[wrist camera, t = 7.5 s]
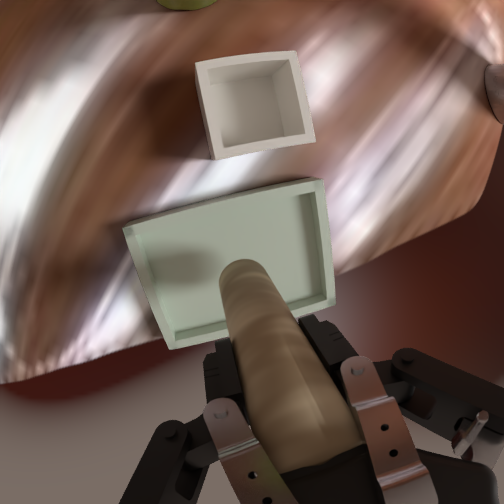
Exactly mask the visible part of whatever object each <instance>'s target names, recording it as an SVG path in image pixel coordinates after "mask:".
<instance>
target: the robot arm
mask: <svg viewBox="0 0 504 504" xmlns="http://www.w3.org/2000/svg"><path fill="white" fill-rule="evenodd" d="M485 85H486V91H487V95H488V99H489V102H490V105H491V107H492V110H493V112H494V114H495V116H496V117H497V119H498V120H499V121H500V122H501V123H502V124H504V64H496V65H489V66H487V68H486V71H485ZM298 323H299V326H300V328H301V329H302V331H303V332H304V334H305V336H306V337H307V339H308V341H309V342H310V344H311V346H312V347H313V349H314V351H315V352H316V354H317V356H318V357H319V359H320V360H321V362H322V364H323V365H324V367H325V369H326V370H327V372H328V374H329V375H330V377H331V379H332V380H333V382H334V383H335V385H336V387H337V388H338V390H339V392H340V393H341V395H342V397H343V398H344V400H345V402H346V403H347V405H348V407H349V408H350V411H351V413H352V416H353V418H354V421H355V423H356V426H357V428H358V431H359V434H360V437H361V439H362V443H363V444H361V445H359V446H357V447H355V448H352V449H350V450H348V451H345V452H343V453H340V454H338V455H337V456H335V457H334V458H332V459H330V460H329V461H327V462H326V463H324V464H322V465H316V466H308V467H302V468H299V469H295V470H292V471H289V472H285V473H282V474H279V473H278V472H277V470H276V469H275V467H274V465H273V464H272V462H271V461H270V459H269V457H268V456H267V454H266V452H265V451H264V449H263V447H262V446H261V444H260V443H259V441H258V440H257V439H256V438H255V436H254V434H253V433H252V431H251V429H250V428H249V425H250V423H249V419H248V415H247V411H246V407H245V398H244V394H243V390H242V386H241V382H240V378H239V374H238V369H237V365H236V361H235V356H234V352H233V348H232V343H231V340H230V338H227V339H223V340H219V341H215V348H216V352H215V353H210V354H207V355H206V357H205V359H204V361H203V368H204V378H205V390H206V399H207V405H206V406H205V408H204V410H203V413H202V415H200V416H199V417H198V418H196V419H194V420H192V421H190V422H188V423H186V424H183V423H182V422H180V421H177V420H169V421H166V422H163V423H162V424H160V425H159V426H158V427H157V428H156V430H155V432H154V434H153V436H152V438H151V440H150V442H149V444H148V446H147V448H146V450H145V452H144V454H143V456H142V458H141V460H140V462H139V464H138V466H137V468H136V470H135V472H134V474H133V476H132V478H131V480H130V482H129V484H128V486H127V488H126V490H125V492H124V494H123V496H122V498H121V500H120V502H119V504H196V503H197V500H198V497H199V494H200V492H201V489H202V486H203V483H204V480H205V477H206V474H207V471H208V468H209V465H210V464H212V463H214V462H215V461H218V460H220V462H221V464H222V466H223V469H224V471H225V473H226V475H227V477H228V479H229V481H230V483H231V486H232V488H233V490H234V492H235V494H236V496H237V498H238V500H239V501H240V504H499V499H498V487H497V480H496V476H495V474H494V473H493V471H492V469H493V467H494V465H495V464H496V462H497V460H498V458H499V456H500V454H501V451H502V449H503V447H504V388H502V387H500V386H498V385H495V384H493V383H491V382H488V381H486V380H484V379H481V378H479V377H477V376H474V375H472V374H470V373H467V372H465V371H463V370H461V369H458V368H456V367H454V366H451V365H449V364H447V363H445V362H442V361H440V360H438V359H436V358H433V357H431V356H429V355H426V354H424V353H422V352H420V351H418V350H416V349H413V348H403V349H400V350H398V351H396V352H395V353H394V354H393V357H392V360H386V361H380V362H372V361H371V360H370V359H368V358H366V357H363V356H359V355H358V354H357V352H356V351H355V350H354V349H353V347H352V346H351V345H350V343H349V342H348V341H347V340H346V338H344V336H343V335H342V333H341V332H340V331H339V330H338V328H337V327H336V326H335V325H334V324H332V323H330V322H328V321H327V320H326V321H323V322H319V321H318V319H317V318H316V316H315V315H314V314H311V315H308V316H305V317H302V318H299V319H298ZM402 415H404V416H405V417H407V418H409V419H410V420H412V421H414V422H416V423H418V424H420V425H421V426H423V427H425V428H427V429H428V430H430V431H432V432H434V433H436V434H438V435H440V436H442V437H443V438H445V439H447V440H449V441H451V446H452V449H453V452H454V454H455V455H459V456H461V458H462V459H458V458H453V457H449V456H444V455H440V454H436V453H432V452H428V451H424V450H421V449H417V448H415V445H414V443H413V440H412V438H411V435H410V433H409V430H408V428H407V426H406V423H405V421H404V418H403V416H402Z"/></svg>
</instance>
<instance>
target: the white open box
mask: <svg viewBox="0 0 504 504" xmlns="http://www.w3.org/2000/svg"><path fill="white" fill-rule="evenodd" d="M195 85H196V89H197V94H198V99H199V104H200V109H201V113H202V118H203V123H204V127H205V132H206V137H207V141H208V146H209V150H210V155H211V159H212V160H220V159H224V158H229V157H234V156H238V155H243V154H248V153H253V152H258V151H264V150H269V149H275V148H280V147H286V146H293V145H299V144H306V143H313V142H316V140H315V134H314V129H313V124H312V118H311V113H310V109H309V104H308V99H307V95H306V90H305V86H304V81H303V77H302V73H301V69H300V65H299V61H298V57H297V53H296V51H279V52H265V53H255V54H246V55H238V56H230V57H224V58H217V59H212V60H206V61H201V62H196V63H195Z"/></svg>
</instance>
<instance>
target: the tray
mask: <svg viewBox="0 0 504 504" xmlns="http://www.w3.org/2000/svg"><path fill="white" fill-rule="evenodd" d="M122 229H123V232H124V236H125V239H126V242H127V245H128V248H129V251H130V254H131V256H132V259H133V262H134V265H135V268H136V270H137V273H138V276H139V279H140V281H141V284H142V286H143V289H144V292H145V294H146V297H147V299H148V302H149V304H150V307H151V309H152V311H153V314H154V316H155V318H156V321H157V323H158V325H159V328H160V330H161V332H162V334H163V337H164V339H165V341H166V343H167V345H168V347H169V349H170V350H172V349H176V348H181V347H185V346H190V345H195V344H199V343H203V342H207V341H212V340H216V339H220V338H224V337H228V336H229V333H228V328H227V323H226V318H225V314H224V309H223V304H222V299H221V294H220V289H219V278H220V275H221V273H222V271H223V270H224V268H225V267H226V266H227V265H229V264H230V263H232V262H234V261H236V260H239V259H251V260H254V261H256V262H258V263H260V264H261V265H262V266H263V267H264V269H265V270H266V272H267V273H268V275H269V277H270V278H271V280H272V282H273V283H274V285H275V287H276V288H277V290H278V291H279V293H280V295H281V296H282V298H283V300H284V301H285V303H286V305H287V306H288V308H289V309H290V311H291V313H292V314H293V316H294V318H296V317H299V316H302V315H305V314H308V313H311V312H315V311H318V310H321V309H324V308H327V307H330V306H333V305H335V304H336V301H335V284H334V270H333V259H332V248H331V238H330V229H329V220H328V212H327V204H326V196H325V189H324V182H323V179H320V178H315V177H310V178H304V179H299V180H294V181H289V182H284V183H279V184H275V185H270V186H265V187H261V188H256V189H252V190H247V191H243V192H238V193H234V194H230V195H226V196H222V197H217V198H213V199H209V200H205V201H201V202H198V203H194V204H190V205H186V206H182V207H179V208H175V209H171V210H168V211H164V212H160V213H157V214H153V215H150V216H146V217H143V218H140V219H136V220H133V221H130V222H128V223H127V224H126V225H125V226H124V227H123V228H122Z"/></svg>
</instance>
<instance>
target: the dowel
mask: <svg viewBox="0 0 504 504" xmlns="http://www.w3.org/2000/svg"><path fill="white" fill-rule="evenodd" d="M219 289H220V294H221V299H222V304H223V309H224V314H225V318H226V323H227V328H228V333H229V337H230V340H231V343H232V348H233V352H234V356H235V361H236V365H237V369H238V374H239V378H240V382H241V386H242V390H243V394H244V398H245V407H246V411H247V415H248V419H249V423H250V426H251V430H252V433H253V434H254V436H255V438H256V439H257V440H258V441H259V443H260V444H261V446H262V447H263V449H264V451H265V452H266V454H267V456H268V457H269V459H270V461H271V462H272V464H273V465H274V467H275V469H276V470H277V472H278V473H279V474H282V473H285V472H289V471H292V470H295V469H299V468H302V467H308V466H316V465H322V464H324V463H326V462H327V461H329V460H330V459H332V458H334V457H335V456H337V455H338V454H340V453H343V452H345V451H348V450H350V449H352V448H355V447H357V446H359V445H361V444H363V443H362V439H361V437H360V434H359V431H358V428H357V426H356V423H355V421H354V418H353V416H352V413H351V411H350V408H349V407H348V405H347V403H346V402H345V400H344V398H343V397H342V395H341V393H340V392H339V390H338V388H337V387H336V385H335V383H334V382H333V380H332V379H331V377H330V375H329V374H328V372H327V370H326V369H325V367H324V365H323V364H322V362H321V360H320V359H319V357H318V356H317V354H316V352H315V351H314V349H313V347H312V346H311V344H310V342H309V341H308V339H307V337H306V336H305V334H304V332H303V331H302V329H301V328H300V326H299V324H298V323H297V321H296V320H295V318H294V316H293V314H292V313H291V311H290V309H289V308H288V306H287V305H286V303H285V301H284V300H283V298H282V296H281V295H280V293H279V291H278V290H277V288H276V287H275V285H274V283H273V282H272V280H271V278H270V277H269V275H268V273H267V272H266V270H265V269H264V267H263V266H262V265H261V264H260V263H258V262H256V261H254V260H251V259H239V260H236V261H234V262H232V263H230V264H229V265H227V266H226V267H225V268H224V270H223V271H222V273H221V275H220V278H219Z"/></svg>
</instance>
